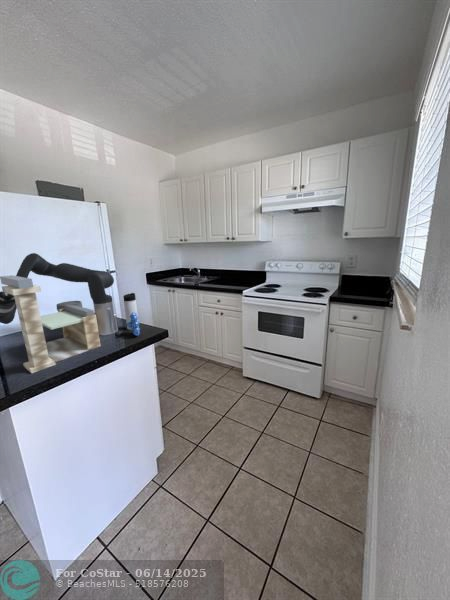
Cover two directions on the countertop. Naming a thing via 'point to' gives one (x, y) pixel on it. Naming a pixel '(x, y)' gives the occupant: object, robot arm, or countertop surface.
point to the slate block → (16, 281)
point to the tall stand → (31, 327)
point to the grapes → (134, 324)
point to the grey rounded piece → (61, 305)
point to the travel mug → (130, 306)
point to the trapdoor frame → (75, 339)
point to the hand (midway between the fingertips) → (9, 287)
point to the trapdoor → (66, 317)
